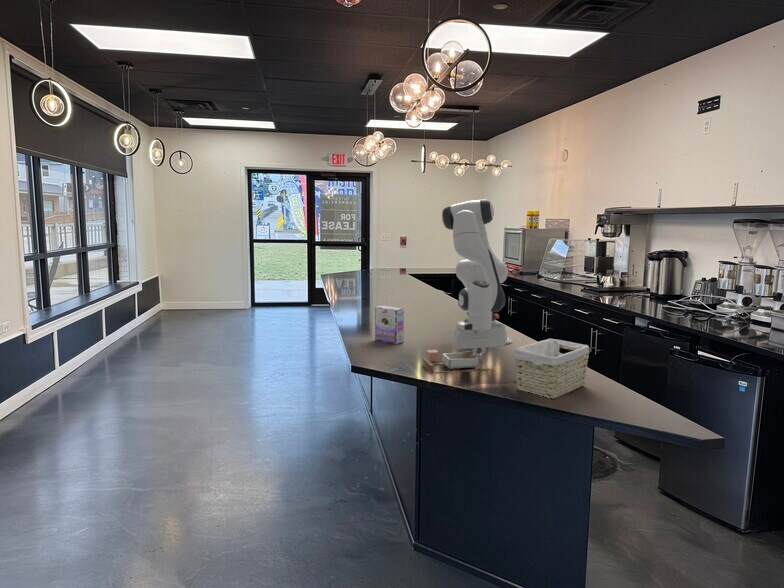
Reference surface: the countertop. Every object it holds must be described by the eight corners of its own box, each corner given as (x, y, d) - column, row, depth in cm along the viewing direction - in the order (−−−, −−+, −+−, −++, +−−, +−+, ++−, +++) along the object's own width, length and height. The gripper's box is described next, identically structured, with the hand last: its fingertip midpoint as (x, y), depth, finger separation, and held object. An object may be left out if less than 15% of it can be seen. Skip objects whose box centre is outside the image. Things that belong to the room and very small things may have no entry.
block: (435, 361, 210) (436, 349, 210) (438, 364, 206) (439, 352, 206) (426, 362, 209) (426, 350, 209) (429, 364, 206) (429, 352, 205)
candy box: (404, 342, 242) (404, 308, 240) (395, 345, 238) (396, 309, 236) (383, 338, 251) (383, 304, 249) (374, 340, 247) (374, 306, 245)
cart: (470, 363, 203) (470, 352, 203) (479, 369, 195) (479, 358, 194) (441, 365, 201) (441, 353, 200) (448, 371, 192) (449, 359, 192)
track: (479, 364, 207) (480, 354, 206) (493, 373, 194) (493, 363, 194) (421, 367, 201) (422, 357, 201) (431, 377, 189) (432, 366, 188)
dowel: (470, 360, 200) (470, 350, 200) (474, 363, 197) (474, 353, 196) (461, 361, 200) (461, 351, 199) (464, 363, 196) (464, 353, 195)
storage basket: (553, 402, 164) (555, 357, 162) (510, 389, 176) (512, 347, 174) (589, 386, 180) (592, 345, 178) (547, 376, 192) (549, 337, 190)
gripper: (501, 321, 202) (500, 355, 204) (452, 323, 198) (451, 358, 200) (508, 324, 196) (507, 359, 198) (457, 326, 192) (456, 362, 194)
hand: (478, 359), depth 199 cm, fingers closed
